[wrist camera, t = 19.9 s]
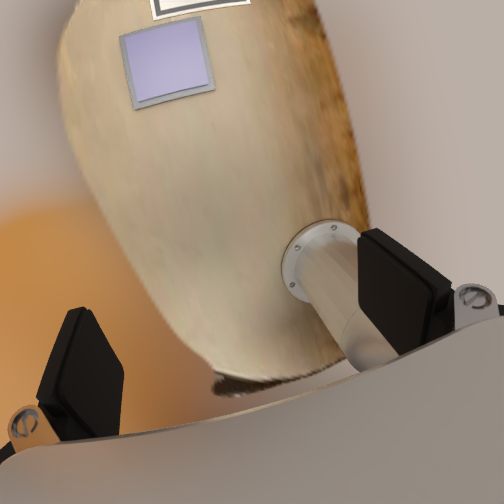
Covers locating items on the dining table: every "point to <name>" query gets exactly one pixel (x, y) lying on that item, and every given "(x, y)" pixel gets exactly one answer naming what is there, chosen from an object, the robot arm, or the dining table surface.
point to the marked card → (188, 6)
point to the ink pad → (166, 62)
